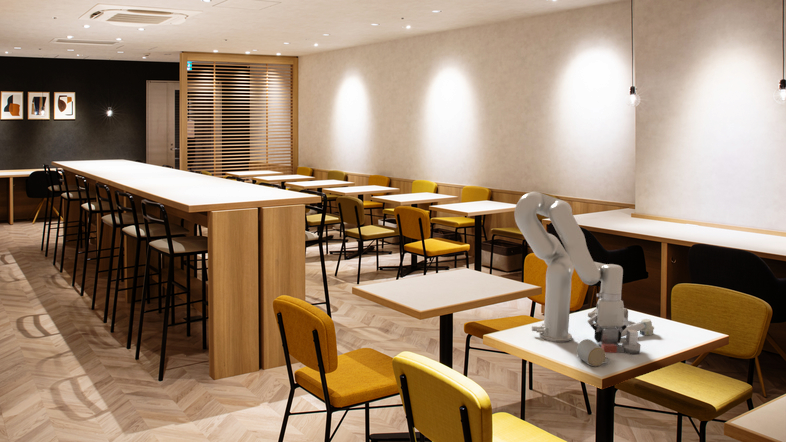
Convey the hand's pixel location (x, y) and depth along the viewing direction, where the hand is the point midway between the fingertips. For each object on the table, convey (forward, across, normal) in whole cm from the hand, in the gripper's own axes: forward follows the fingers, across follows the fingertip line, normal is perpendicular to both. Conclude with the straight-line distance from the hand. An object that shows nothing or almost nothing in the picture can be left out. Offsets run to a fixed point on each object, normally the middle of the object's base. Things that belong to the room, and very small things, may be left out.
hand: (607, 340), depth 234 cm
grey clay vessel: (+2, +12, +30) cm, 32 cm away
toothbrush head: (+2, +13, +10) cm, 16 cm away
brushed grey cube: (+1, 0, 0) cm, 1 cm away
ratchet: (+1, +2, -8) cm, 8 cm away
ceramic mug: (+2, -12, -20) cm, 24 cm away
